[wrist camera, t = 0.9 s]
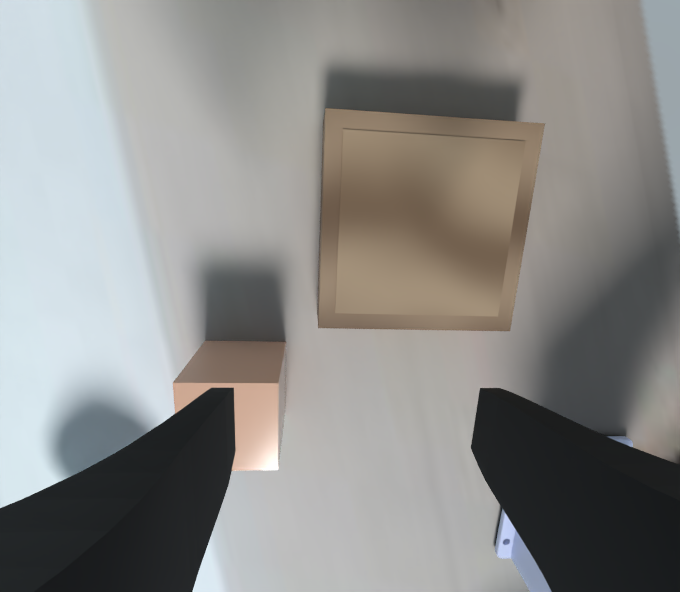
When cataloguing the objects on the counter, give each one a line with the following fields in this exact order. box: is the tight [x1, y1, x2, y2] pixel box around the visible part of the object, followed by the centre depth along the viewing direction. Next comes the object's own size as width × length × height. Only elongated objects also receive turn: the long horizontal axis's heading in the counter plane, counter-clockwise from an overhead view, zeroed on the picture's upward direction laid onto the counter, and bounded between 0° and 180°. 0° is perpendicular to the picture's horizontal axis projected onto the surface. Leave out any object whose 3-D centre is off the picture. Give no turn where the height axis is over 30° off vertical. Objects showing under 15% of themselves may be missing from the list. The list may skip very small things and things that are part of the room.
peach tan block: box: [173, 341, 286, 471], centre depth 19 cm, size 4×4×5 cm
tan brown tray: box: [317, 108, 545, 331], centre depth 18 cm, size 10×10×3 cm
